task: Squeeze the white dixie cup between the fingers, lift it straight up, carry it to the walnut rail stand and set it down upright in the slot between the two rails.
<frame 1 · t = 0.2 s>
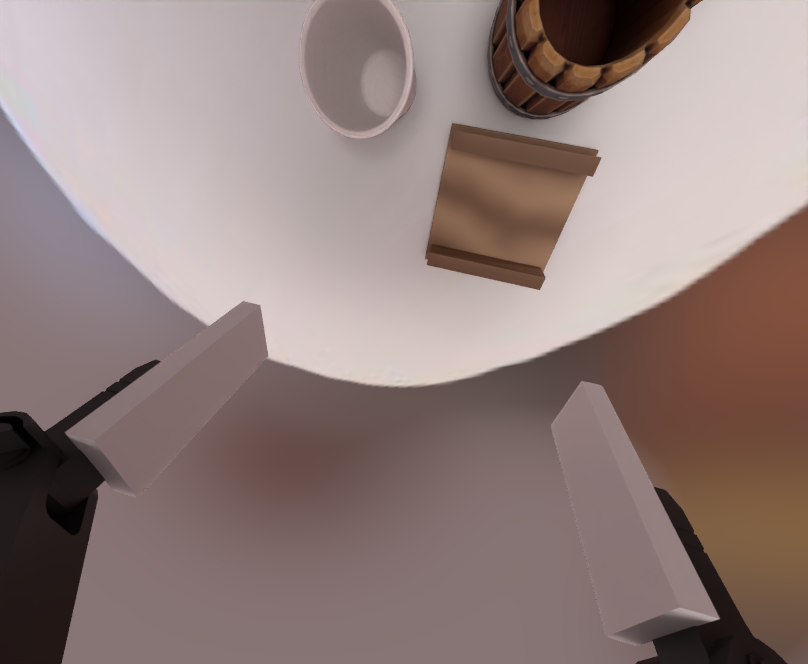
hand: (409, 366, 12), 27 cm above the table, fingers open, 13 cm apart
dixie cup: (388, 85, 29), on the table
mug: (583, 26, 25), on the table
rail stand: (499, 210, 33), on the table
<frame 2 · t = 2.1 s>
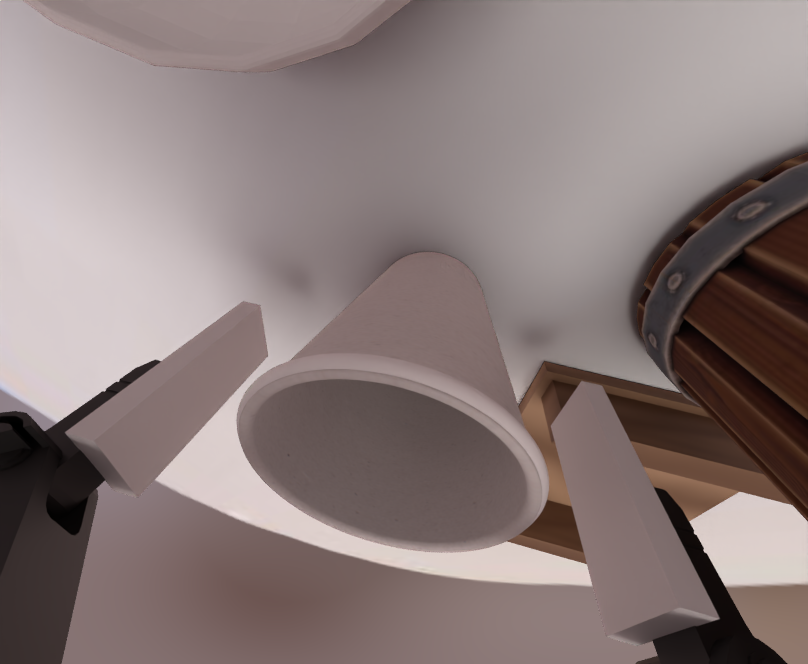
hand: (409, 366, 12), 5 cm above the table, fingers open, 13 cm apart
dixie cup: (429, 301, 16), on the table
rail stand: (605, 461, 20), on the table
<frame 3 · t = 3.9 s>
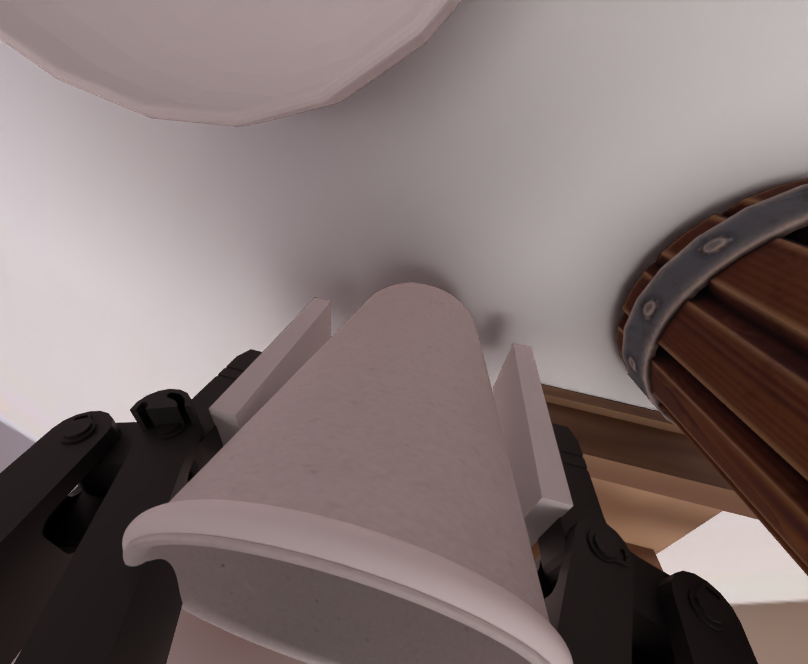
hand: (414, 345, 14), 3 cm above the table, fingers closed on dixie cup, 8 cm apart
dixie cup: (415, 336, 14), point 2 cm above the table, touching gripper
rail stand: (594, 480, 20), on the table
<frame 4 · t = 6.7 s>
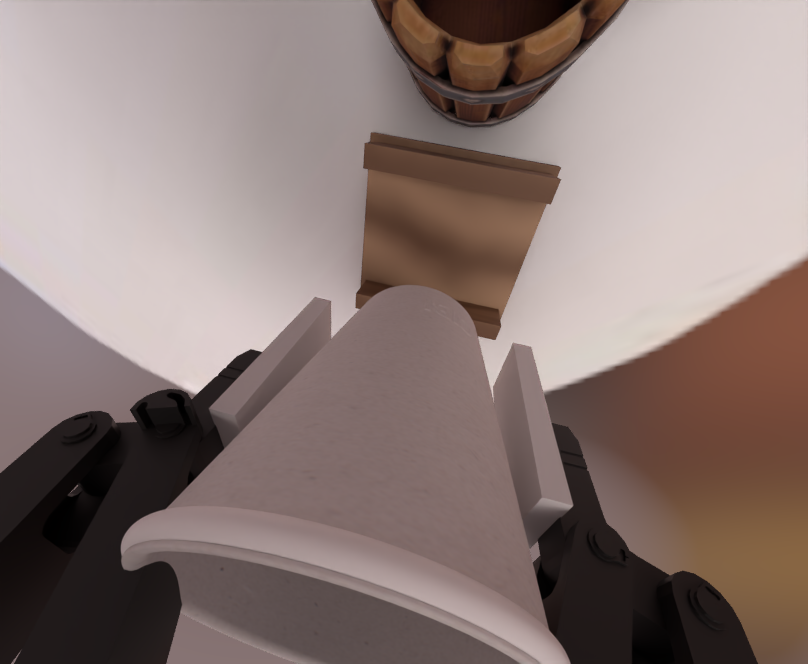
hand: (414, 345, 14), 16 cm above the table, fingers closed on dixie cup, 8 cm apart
dixie cup: (415, 338, 14), point 15 cm above the table, touching gripper
rail stand: (443, 240, 26), on the table
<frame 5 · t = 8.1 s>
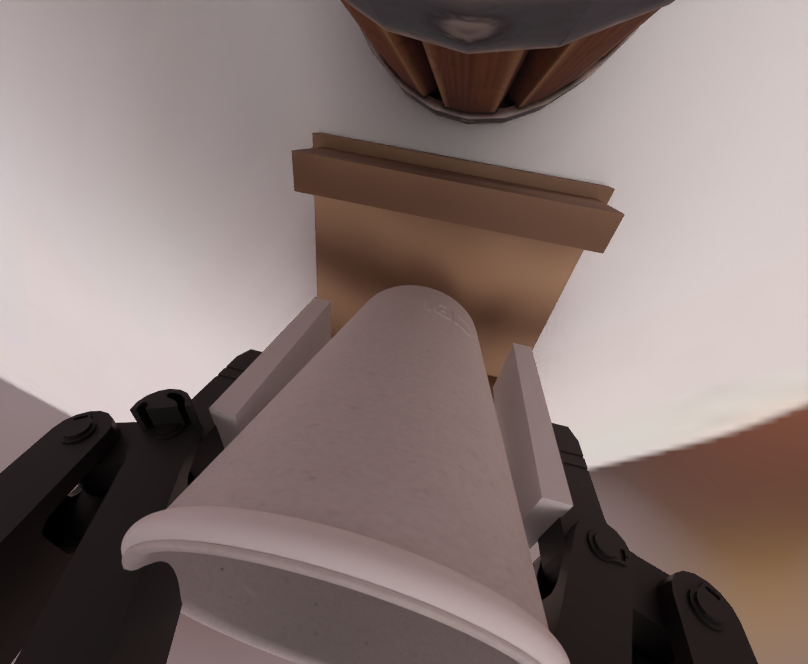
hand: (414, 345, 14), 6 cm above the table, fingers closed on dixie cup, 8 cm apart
dixie cup: (415, 338, 14), point 5 cm above the table, touching gripper
rail stand: (430, 288, 18), on the table
when the fingers open (2 cm above the table, at t = 9.4 s): dixie cup stays where it is, resting on rail stand.
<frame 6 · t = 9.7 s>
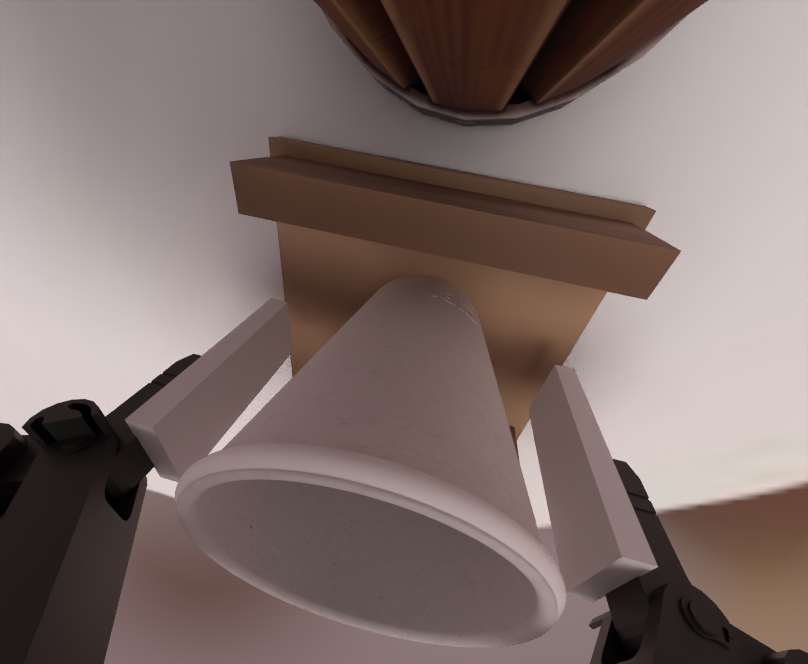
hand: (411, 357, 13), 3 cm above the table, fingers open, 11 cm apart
dixie cup: (421, 327, 15), point 1 cm above the table, touching rail stand
rail stand: (421, 322, 15), on the table
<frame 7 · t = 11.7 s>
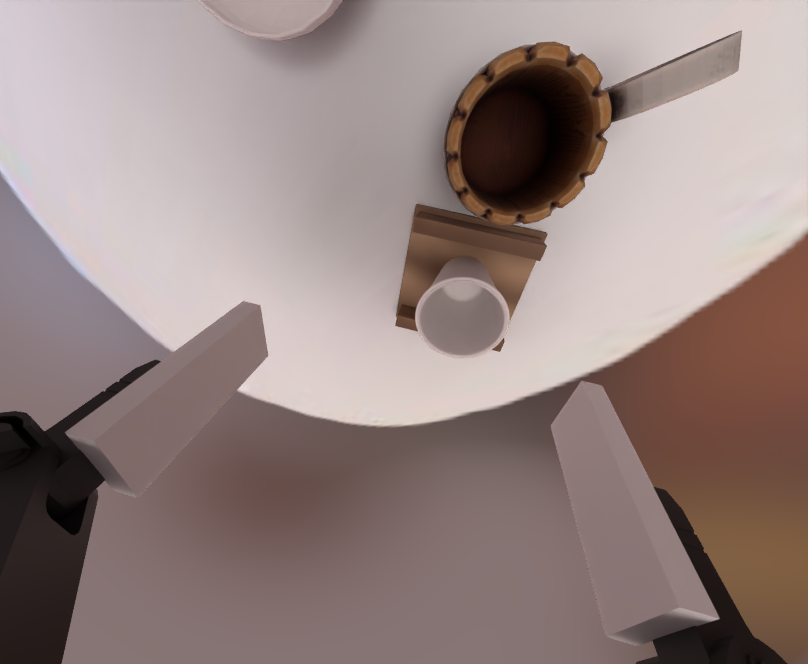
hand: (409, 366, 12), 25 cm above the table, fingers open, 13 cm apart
dixie cup: (463, 279, 35), point 1 cm above the table, touching rail stand
mug: (528, 133, 27), on the table
rail stand: (462, 277, 36), on the table
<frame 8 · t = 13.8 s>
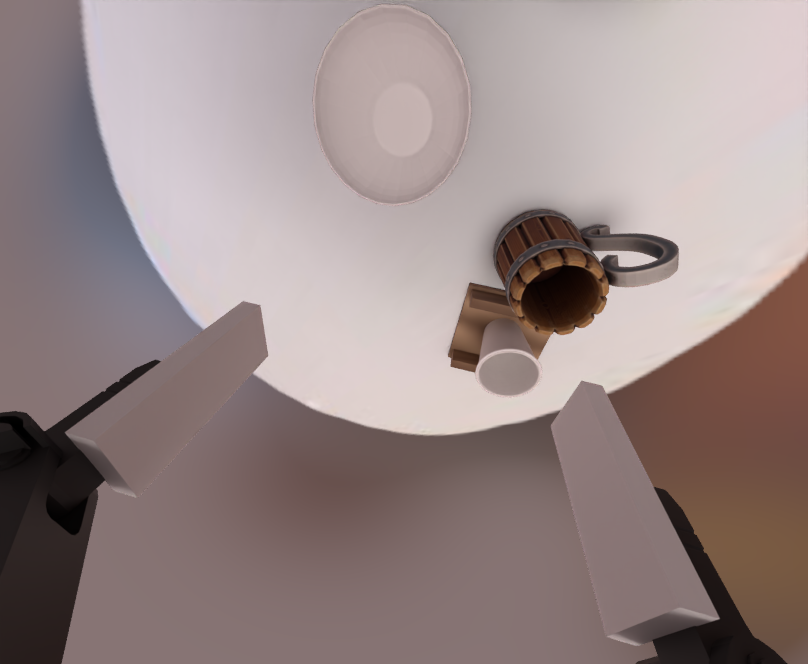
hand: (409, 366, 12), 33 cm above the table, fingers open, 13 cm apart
dixie cup: (502, 332, 47), point 1 cm above the table, touching rail stand
mug: (553, 242, 39), on the table
bowl: (402, 121, 35), on the table
rail stand: (501, 331, 48), on the table
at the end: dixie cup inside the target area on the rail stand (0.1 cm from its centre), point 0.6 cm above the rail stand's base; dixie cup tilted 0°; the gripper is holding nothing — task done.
